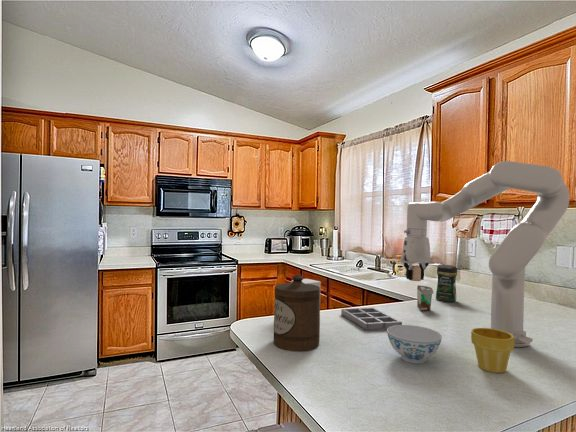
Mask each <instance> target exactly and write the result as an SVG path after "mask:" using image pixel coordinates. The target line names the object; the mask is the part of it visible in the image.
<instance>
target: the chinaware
mask: <svg viewBox="0 0 576 432" xmlns="http://www.w3.org/2000/svg"><path fill="white" fill-rule="evenodd" d="M386 331H387V333H386V334H387V337H388V341H389V343H390V345H391V346H392V348H393V350H395V352H396V353H397V354H398V355H400V359H402V360H403V361H404V362H407V363H409V364H424V363H425V362H426V360H427V359H430V358H431V357H432V356H434V354H435V353H437V351H438V349H439V347H440V345H441V342H442V339H443V335H442V334H441V333H439V332H438V331H436V330H433V329H431V328H427V327H424V326H418V325H412V324H410V325H409V324H402V325H395V326H391V327H389V328H388V329H387V330H386Z"/></svg>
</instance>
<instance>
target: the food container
mask: <svg viewBox="0 0 576 432" xmlns="http://www.w3.org/2000/svg"><path fill="white" fill-rule="evenodd" d="M416 289H417V294H416V295H417V297H416V298H417V299H416V300H417V301H416V302H417V303H416V306H417V309H418V310H419V311H420V312H430V311H431V308H432V299H433V298H432V297H433V294H434V290H433V288H432V287H431V286H427V285H418V284H417V287H416Z"/></svg>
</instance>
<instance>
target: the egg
mask: <svg viewBox="0 0 576 432" xmlns="http://www.w3.org/2000/svg"><path fill="white" fill-rule="evenodd" d="M411 270H413V276H412V280H409V281H410V282H421V281H422V280H421V268H420V267H419V264H412V268H411Z"/></svg>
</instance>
